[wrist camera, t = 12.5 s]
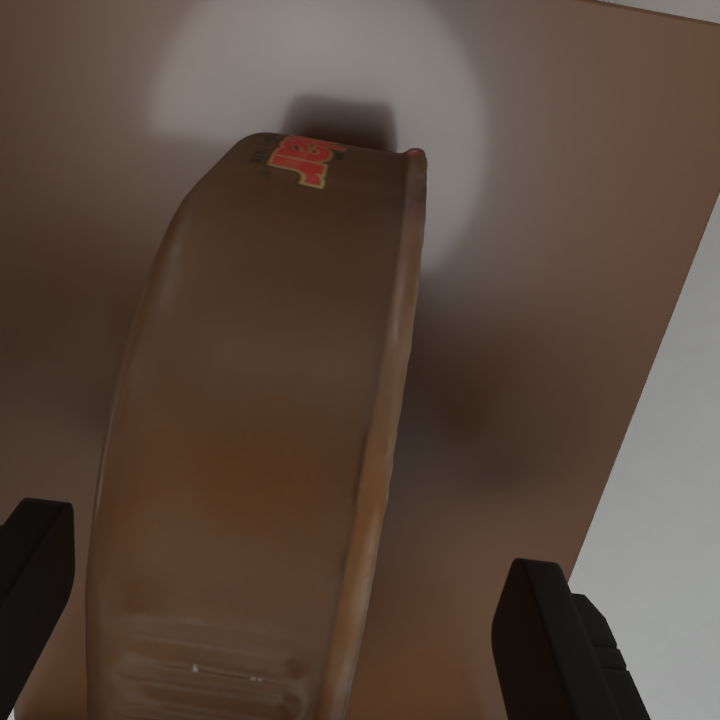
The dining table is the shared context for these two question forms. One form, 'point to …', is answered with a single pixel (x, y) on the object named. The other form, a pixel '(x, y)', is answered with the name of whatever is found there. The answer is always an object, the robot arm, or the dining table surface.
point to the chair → (436, 282)
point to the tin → (255, 438)
